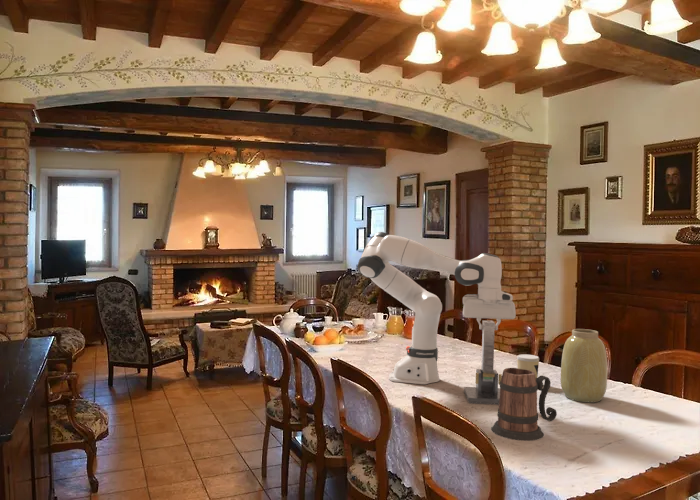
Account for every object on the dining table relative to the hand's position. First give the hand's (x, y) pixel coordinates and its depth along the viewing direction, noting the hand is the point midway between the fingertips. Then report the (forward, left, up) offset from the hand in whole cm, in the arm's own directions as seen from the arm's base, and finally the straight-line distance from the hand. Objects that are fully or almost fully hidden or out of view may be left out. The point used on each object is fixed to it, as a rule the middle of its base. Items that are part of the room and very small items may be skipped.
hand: (488, 329), depth 223 cm
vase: (+39, +7, -27) cm, 48 cm away
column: (0, 0, -20) cm, 20 cm away
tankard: (+8, -36, -28) cm, 46 cm away
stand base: (0, 0, -27) cm, 27 cm away
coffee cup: (+21, +25, -28) cm, 43 cm away
